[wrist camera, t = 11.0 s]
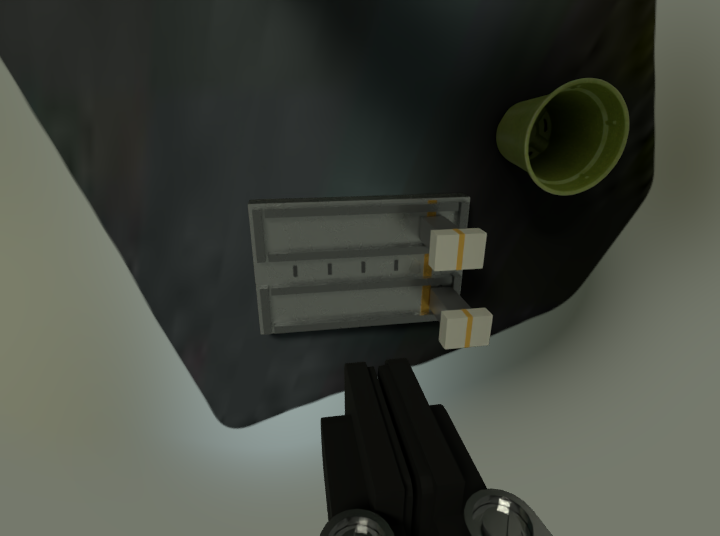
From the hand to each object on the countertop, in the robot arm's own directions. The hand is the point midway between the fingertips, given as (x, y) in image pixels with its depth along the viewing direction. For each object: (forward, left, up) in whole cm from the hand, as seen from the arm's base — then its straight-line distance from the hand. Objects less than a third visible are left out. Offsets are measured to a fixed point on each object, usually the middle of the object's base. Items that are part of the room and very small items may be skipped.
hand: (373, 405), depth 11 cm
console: (+8, +5, -32) cm, 33 cm away
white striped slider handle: (+4, +12, -30) cm, 32 cm away
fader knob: (+12, +14, -30) cm, 35 cm away
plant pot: (-5, +22, -32) cm, 39 cm away
